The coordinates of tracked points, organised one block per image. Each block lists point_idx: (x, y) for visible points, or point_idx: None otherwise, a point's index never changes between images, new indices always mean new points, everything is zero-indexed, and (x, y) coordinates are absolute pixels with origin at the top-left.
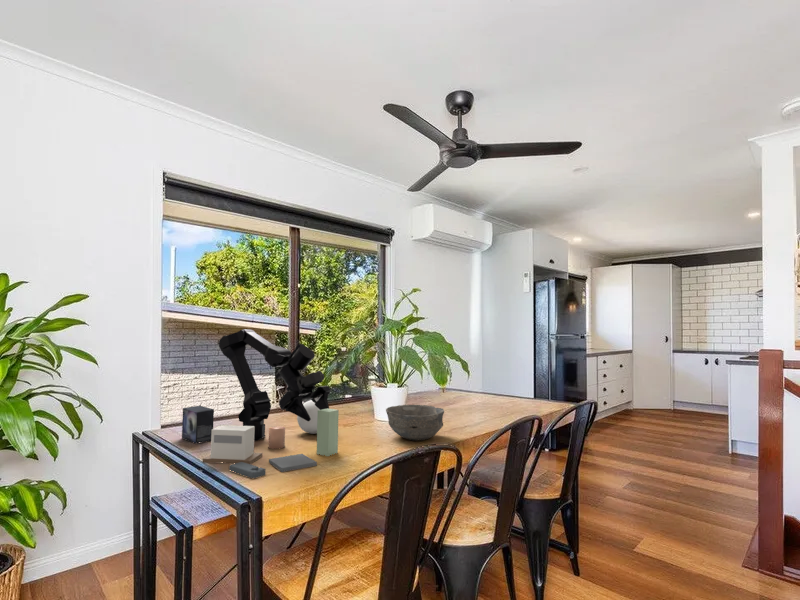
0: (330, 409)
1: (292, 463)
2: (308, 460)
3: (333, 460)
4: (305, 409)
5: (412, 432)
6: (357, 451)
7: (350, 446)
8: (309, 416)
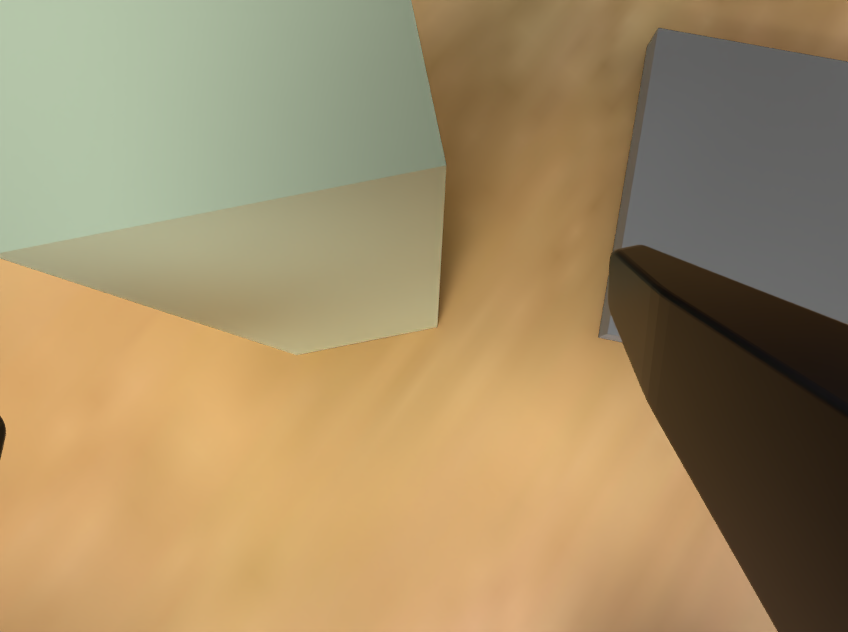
0: (61, 46)
1: (844, 132)
2: (687, 110)
3: (454, 67)
4: (809, 367)
5: None
6: None
7: (27, 311)
8: (649, 267)
